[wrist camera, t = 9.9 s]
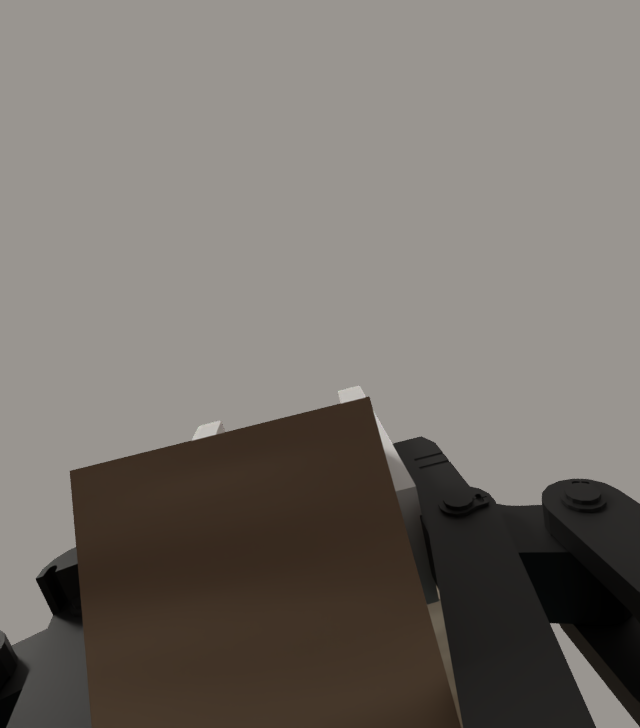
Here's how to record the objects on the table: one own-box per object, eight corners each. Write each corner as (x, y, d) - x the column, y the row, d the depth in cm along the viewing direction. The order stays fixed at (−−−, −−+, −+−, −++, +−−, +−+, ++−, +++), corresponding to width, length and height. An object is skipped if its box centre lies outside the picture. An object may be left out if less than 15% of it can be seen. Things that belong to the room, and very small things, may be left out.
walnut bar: (467, 753, 5) (368, 396, 6) (102, 850, 5) (69, 470, 6) (361, 524, 30) (347, 465, 31) (304, 538, 30) (291, 479, 31)
